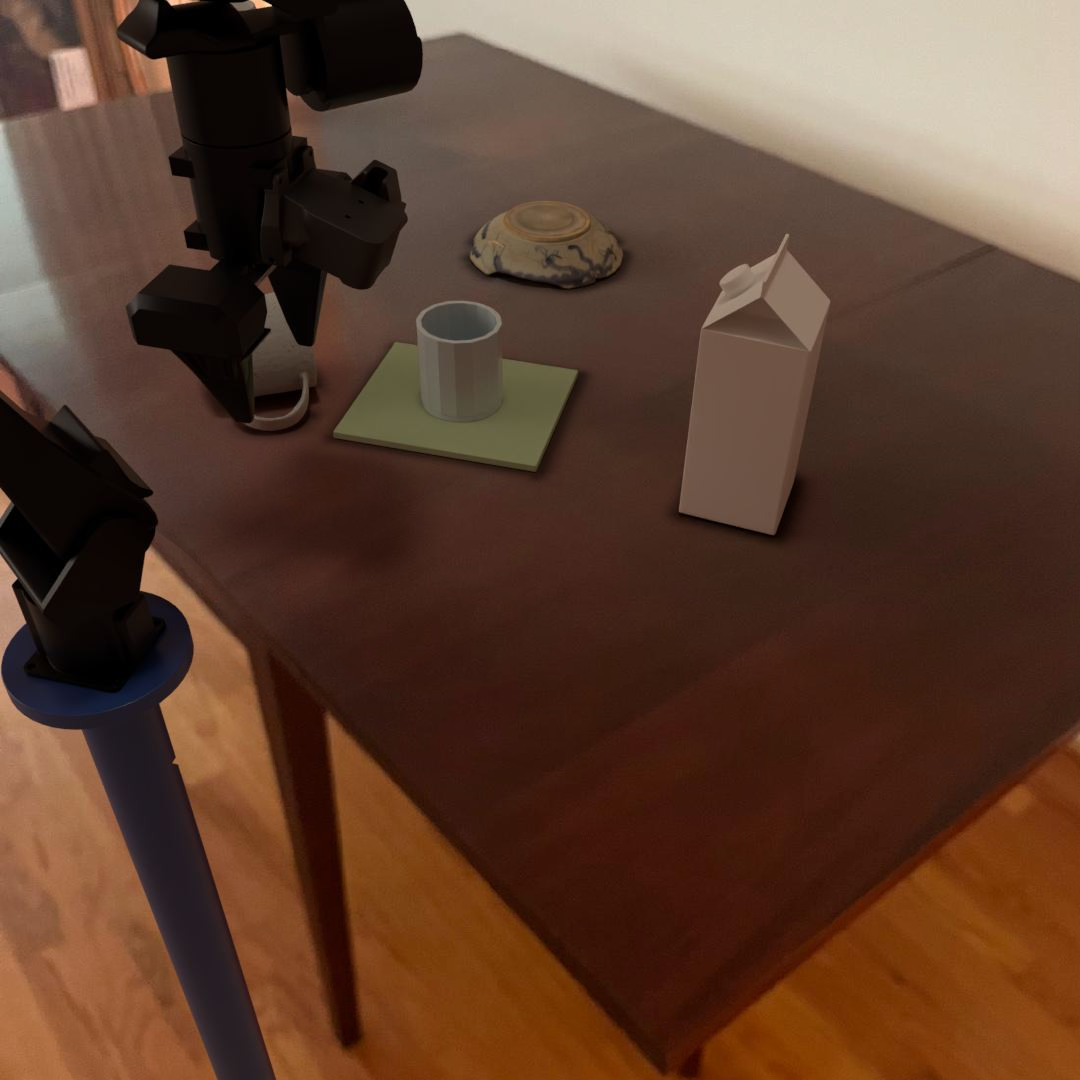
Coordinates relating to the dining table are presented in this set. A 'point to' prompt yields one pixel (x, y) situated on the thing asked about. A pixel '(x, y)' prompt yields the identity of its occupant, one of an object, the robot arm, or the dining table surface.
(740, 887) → the dining table surface
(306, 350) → the ceramic mug
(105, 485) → the robot arm
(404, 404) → the mat
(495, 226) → the decorative bowl
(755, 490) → the milk carton
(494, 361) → the container
